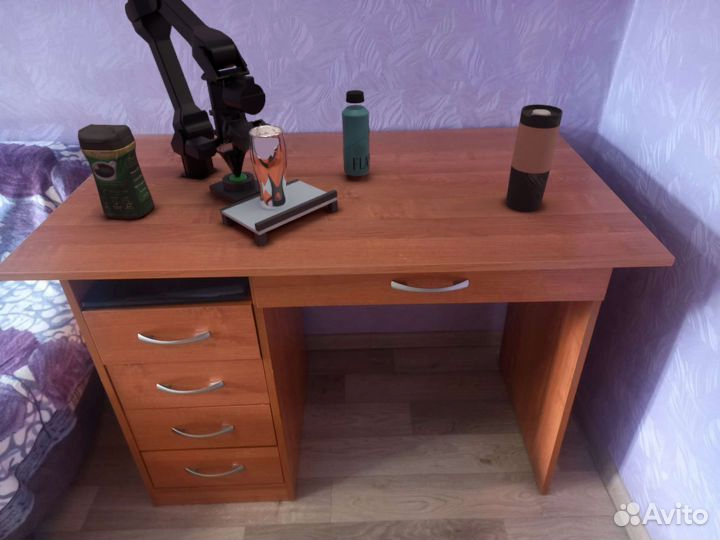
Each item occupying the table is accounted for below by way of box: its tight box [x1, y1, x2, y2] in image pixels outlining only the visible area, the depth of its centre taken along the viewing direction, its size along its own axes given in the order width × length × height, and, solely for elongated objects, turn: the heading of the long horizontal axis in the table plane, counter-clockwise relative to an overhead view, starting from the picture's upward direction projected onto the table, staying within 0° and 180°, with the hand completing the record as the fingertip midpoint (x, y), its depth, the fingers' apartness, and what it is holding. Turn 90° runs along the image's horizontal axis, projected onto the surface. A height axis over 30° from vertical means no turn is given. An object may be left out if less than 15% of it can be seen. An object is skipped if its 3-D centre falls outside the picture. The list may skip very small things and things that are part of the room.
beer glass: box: [248, 124, 290, 210], centre depth 92 cm, size 7×7×15 cm
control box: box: [208, 170, 260, 205], centre depth 107 cm, size 11×9×4 cm
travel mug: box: [505, 103, 563, 213], centre depth 96 cm, size 8×8×20 cm
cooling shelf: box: [219, 178, 339, 247], centre depth 97 cm, size 13×20×4 cm, turn 136°
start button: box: [229, 173, 247, 182], centre depth 106 cm, size 4×4×2 cm
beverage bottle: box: [341, 89, 371, 177], centre depth 109 cm, size 6×7×20 cm
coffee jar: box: [77, 123, 155, 220], centre depth 96 cm, size 10×8×19 cm
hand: (237, 176), depth 105 cm, fingers closed, pressing on start button
